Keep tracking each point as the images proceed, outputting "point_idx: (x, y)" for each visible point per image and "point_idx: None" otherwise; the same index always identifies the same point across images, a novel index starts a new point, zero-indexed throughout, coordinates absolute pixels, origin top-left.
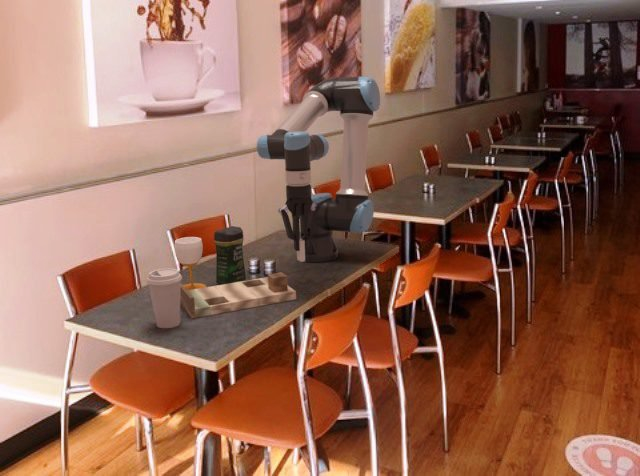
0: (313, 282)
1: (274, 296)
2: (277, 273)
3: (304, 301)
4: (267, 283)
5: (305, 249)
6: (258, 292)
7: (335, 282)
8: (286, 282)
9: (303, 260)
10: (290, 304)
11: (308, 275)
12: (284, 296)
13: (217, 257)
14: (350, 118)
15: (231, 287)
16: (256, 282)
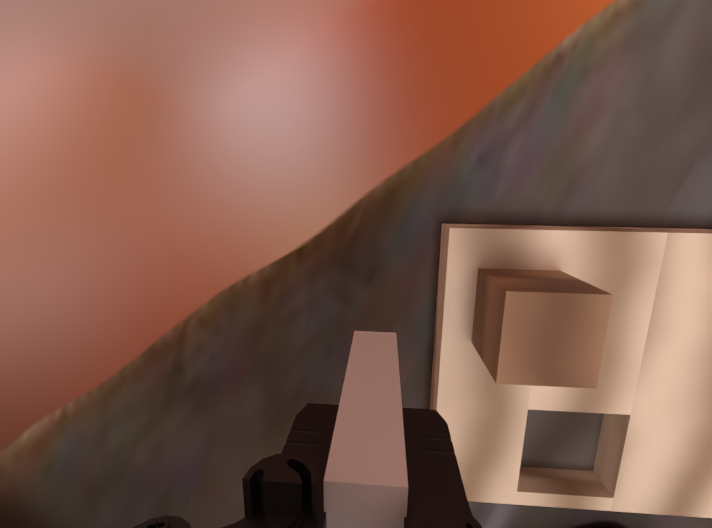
0: (271, 391)
1: (575, 229)
2: (530, 375)
3: (422, 172)
4: (514, 418)
5: (324, 405)
6: (626, 317)
7: (184, 339)
8: (497, 280)
9: (369, 336)
10: (500, 168)
11: None
12: (512, 227)
13: None
14: None
15: (696, 458)
16: (527, 481)
